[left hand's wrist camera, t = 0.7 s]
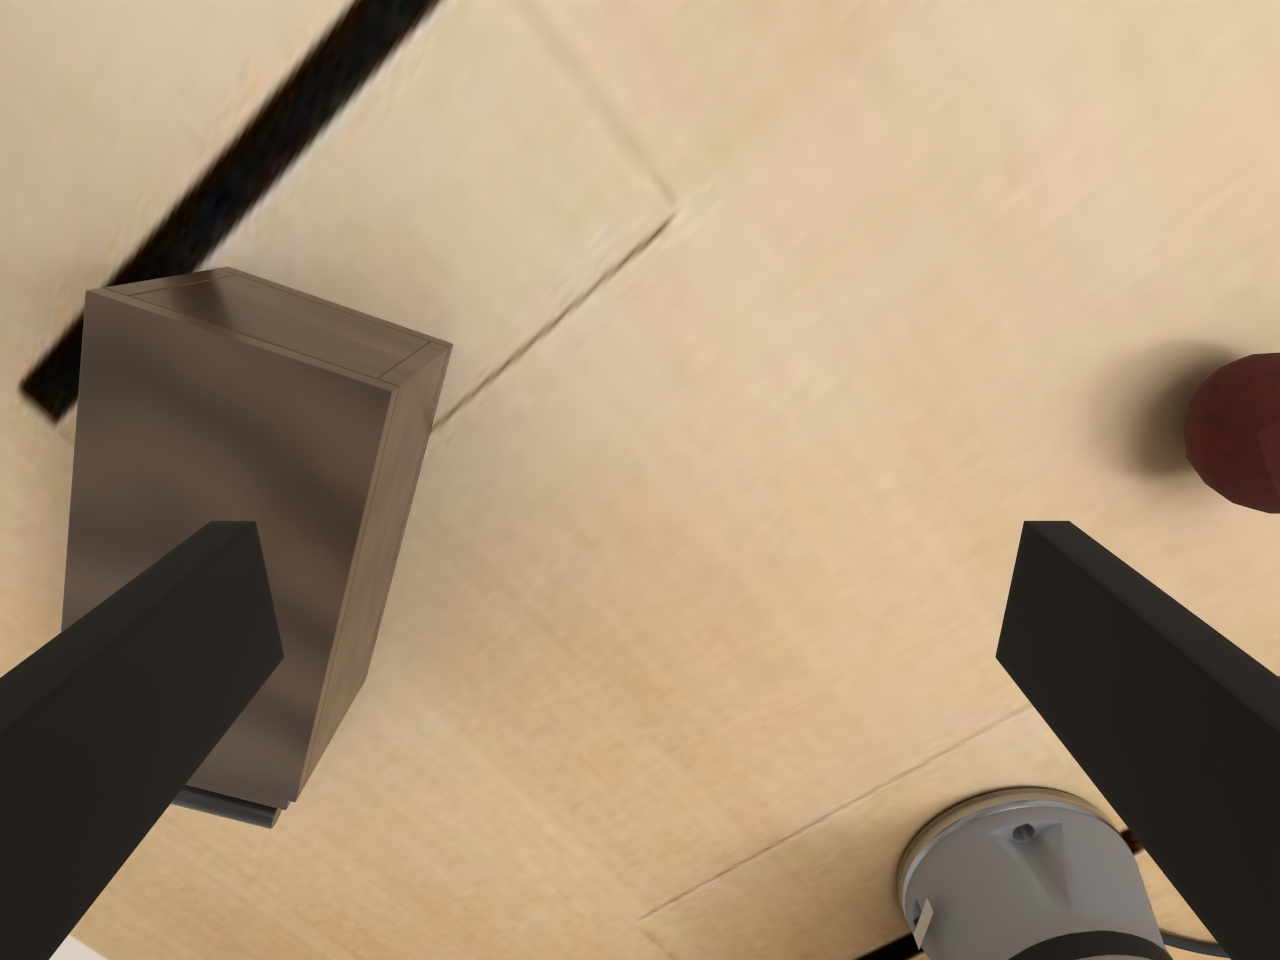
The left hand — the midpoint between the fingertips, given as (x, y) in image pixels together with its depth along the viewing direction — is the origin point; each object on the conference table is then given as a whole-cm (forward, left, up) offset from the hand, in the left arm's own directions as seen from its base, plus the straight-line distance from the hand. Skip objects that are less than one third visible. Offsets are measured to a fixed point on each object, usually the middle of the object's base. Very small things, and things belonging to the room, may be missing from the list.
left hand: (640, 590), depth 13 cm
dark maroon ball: (+6, +30, -26) cm, 40 cm away
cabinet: (+8, -19, -26) cm, 33 cm away
